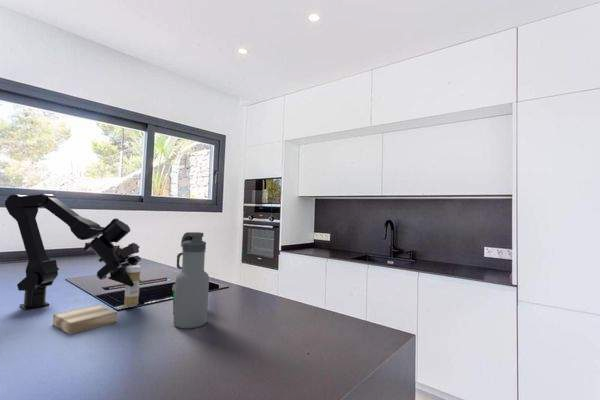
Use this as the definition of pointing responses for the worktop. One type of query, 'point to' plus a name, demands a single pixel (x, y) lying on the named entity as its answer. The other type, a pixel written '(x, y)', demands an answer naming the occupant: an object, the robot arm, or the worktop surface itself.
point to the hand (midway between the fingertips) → (136, 284)
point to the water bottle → (191, 283)
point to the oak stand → (84, 319)
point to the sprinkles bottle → (133, 292)
